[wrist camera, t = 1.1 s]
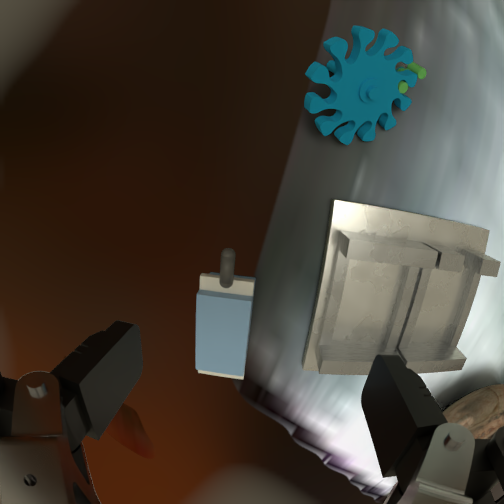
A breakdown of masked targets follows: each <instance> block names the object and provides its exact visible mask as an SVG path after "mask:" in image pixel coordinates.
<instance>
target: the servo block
mask: <svg viewBox="0 0 504 504" xmlns="http://www.w3.org/2000/svg"><path fill="white" fill-rule="evenodd" d="M234 266H235V252H234V250H233V249H231V248H225V249H224V250H223V251H222V253H221V265H220V273H215V272H210V274H205V273H202V274H201V275H200V290H199V291H198V293H197V300H196V369H197V370H198V373H204V374H209V375H216V376H222V377H229V378H236V379H243V378H244V370H245V363H246V356H247V350H248V343H249V334H250V326H251V317H252V308H253V299H254V290H255V281H256V278H255V277H248V276H240V275H234Z"/></svg>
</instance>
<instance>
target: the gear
mask: <svg viewBox="0 0 504 504" xmlns="http://www.w3.org/2000/svg"><path fill="white" fill-rule="evenodd" d="M351 32H352V36H353V49H352V52H351V54H350V56H349V58H348V59H346V60H345V54H346V52H347V49H348V44H347V42H346V41H345V40H344V39H342V38H339V37H333V38H330V39H328V40H327V41H325V42H324V44H323V45H324V48H325V50H326V51H327V52H329V53H330V54H331V55H332V57H333V59H334V61H333V60H331V61H329V62H328V63H327V65H326V67H327V68H326V67H325V66H323V65H322V64H320V63H318V62H313V63H312V64H311V65H310V66H309V68H308V70H307V71H306V73H305V75H306V76H307V77H308V78H309V79H310V80H312V81H313V82H315V83H322V84H326V85H328V87H329V88H330V89H331V94H330V96H329V97H328V98H326V99H322V98H321V97H320V96H318V95H317V94H316V93H314V92H309V93H307V94H306V96H305V100H304V107H305V108H306V109H307V110H308V111H309V112H310V113H313V114H314V113H318V112H320V111H322V110H325V109H336V113H335V114H334V115H333V116H330V117H328V116H319V117H317V118H316V119H315V124H316V127H317V128H318V130H319V131H320V132H321V133H322V134H323V135H324V136H327V135H329V134H331V133H332V131H333V130H334V129H335V128H336V127H337V126H339V125H340V124H342V123H344V122H347V121H349V123H348V124H347V125H345V126H342V127H340V128H338V129H337V130H336V131H335V133H334V135H335V136H336V137H337V138H338V139H339V141H340V142H342V143H343V144H346V145H348V144H350V143H351V142H352V140H353V137H354V134H355V132H356V131H357V129H358V128H359V127H360V126H361V125H362V124H363V123H365V124H364V125H363V126H362V127H360V128H359V130H358V132H357V135H358V136H359V137H360V138H361V139H362V140H363V141H373V140H374V138H375V135H376V134H375V126H376V123H377V120H378V119H379V124H380V125H381V126H382V127H383V128H384V129H385V130H389V129H391V128H392V127H394V126H395V125H396V119H395V118H394V117H393V116H392V112H391V105H392V102H393V100H394V103H395V105H396V106H397V107H398V108H400V109H401V110H402V111H405V110H406V109H407V108H408V107H409V106H410V104H411V103H412V101H411V99H410V98H409V97H407V96H406V95H404V94H402V93H405V92H406V91H407V89H408V86H409V87H414V86H415V84H416V81H417V77H418V78H419V79H423V78H424V77H425V76H426V70H425V69H424V68H423V67H421V66H419V65H417V64H416V63H414V62H413V55H412V51H411V49H409V48H407V47H405V46H399V47H398V48H397V49H396V50H395V51H394V52H393V53H392V54H390V55H387V56H384V51H385V50H386V49H387V48H391V47H395V46H396V45H397V44H398V43H399V39H398V38H397V36H396V35H395V34H394V33H392V32H391V31H389V30H386V29H384V28H383V29H381V30H380V31H379V33H378V38H377V40H376V42H375V44H374V45H373V46H372V47H371V48H370V49H369V50H368V51H366V52H365V48H366V46H367V45H368V44H369V43H370V42H371V41H372V40H373V39H374V36H375V33H374V31H373V30H370V29H368V28H365V27H362V26H353V27H352V31H351ZM400 62H403V63H405V64H408V66H407V67H406V66H405V65H403V64H401V63H400ZM328 70H329V71H331V72H332V73H334V76H332V77H330V78H329V72H328ZM380 115H381V116H380ZM379 117H380V118H379Z"/></svg>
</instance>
